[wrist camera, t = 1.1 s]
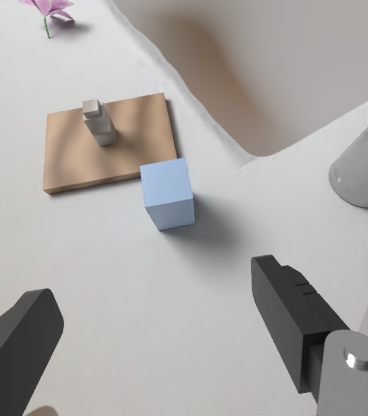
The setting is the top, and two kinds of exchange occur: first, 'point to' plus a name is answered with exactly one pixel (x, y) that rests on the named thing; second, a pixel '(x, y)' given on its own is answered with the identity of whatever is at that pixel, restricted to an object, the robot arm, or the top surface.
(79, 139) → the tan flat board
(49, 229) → the top surface
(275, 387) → the top surface
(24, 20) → the top surface
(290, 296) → the robot arm
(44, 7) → the lily
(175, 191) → the light blue block
